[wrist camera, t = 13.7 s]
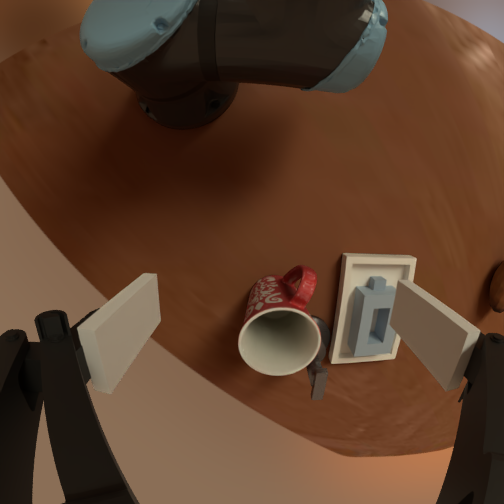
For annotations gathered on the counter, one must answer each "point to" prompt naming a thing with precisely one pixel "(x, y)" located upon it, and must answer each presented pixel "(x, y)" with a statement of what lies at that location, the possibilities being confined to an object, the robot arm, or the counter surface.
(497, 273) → the potato
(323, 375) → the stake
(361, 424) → the counter surface
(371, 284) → the windowed blue block
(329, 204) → the counter surface
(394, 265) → the tray
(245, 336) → the mug
